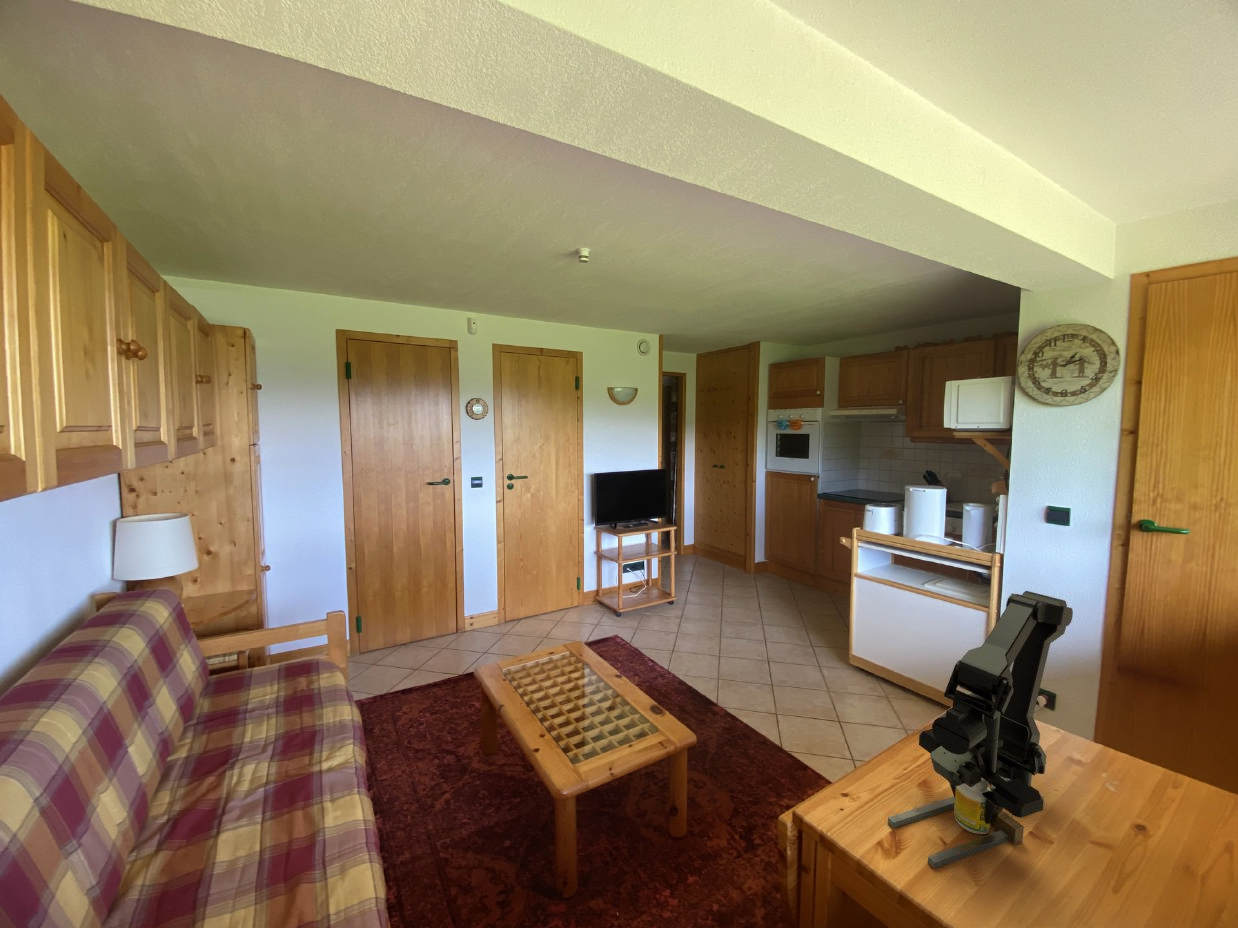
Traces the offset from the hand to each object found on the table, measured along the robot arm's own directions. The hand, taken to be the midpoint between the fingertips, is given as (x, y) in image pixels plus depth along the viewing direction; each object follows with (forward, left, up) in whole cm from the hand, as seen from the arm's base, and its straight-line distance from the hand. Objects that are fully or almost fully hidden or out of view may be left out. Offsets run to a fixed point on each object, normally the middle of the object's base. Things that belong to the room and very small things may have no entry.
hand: (972, 810), depth 89 cm
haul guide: (+5, 0, -3) cm, 6 cm away
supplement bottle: (0, 0, -3) cm, 3 cm away
